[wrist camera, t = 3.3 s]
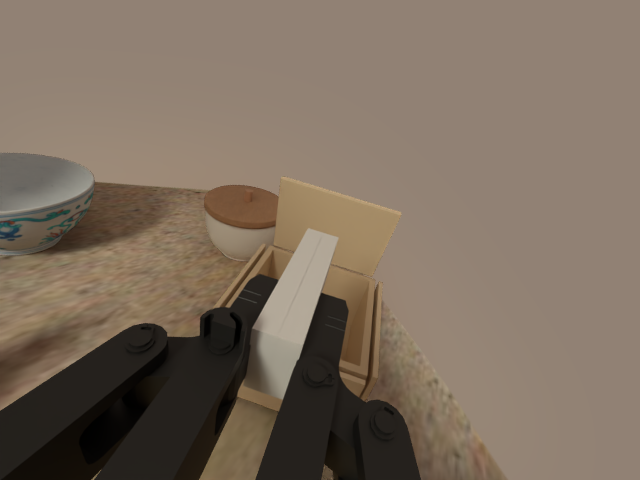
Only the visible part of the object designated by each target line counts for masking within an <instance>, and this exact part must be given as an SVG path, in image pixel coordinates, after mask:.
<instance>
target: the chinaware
mask: <svg viewBox="0 0 640 480" xmlns="http://www.w3.org/2000/svg"><path fill="white" fill-rule="evenodd" d="M94 183H95V180H94V176H93V174H92V173H91V171H89V170H88V169H87V168H85V167H84V166H82V165H80V164H77V163H75V162H72V161H69V160H65V159H61V158H56V157H51V156H44V155H36V154H24V153H0V255H25V254H31V253H36V252H39V251H42V250H45V249H48V248H50V247H52V246H54V245H55V244H57V243H58V242H59V241H60V240H61V238H62V235H64V234H65V233H67V232H68V231H70V230H71V229H72V228H73V227H75V226H76V225H77V224H78V223H79V222H80V220H81V219H82V218H83V217H84V215H85V214H86V212H87V210H88V208H89V206H90V203H91V201H92V197H93V192H94Z"/></svg>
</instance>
